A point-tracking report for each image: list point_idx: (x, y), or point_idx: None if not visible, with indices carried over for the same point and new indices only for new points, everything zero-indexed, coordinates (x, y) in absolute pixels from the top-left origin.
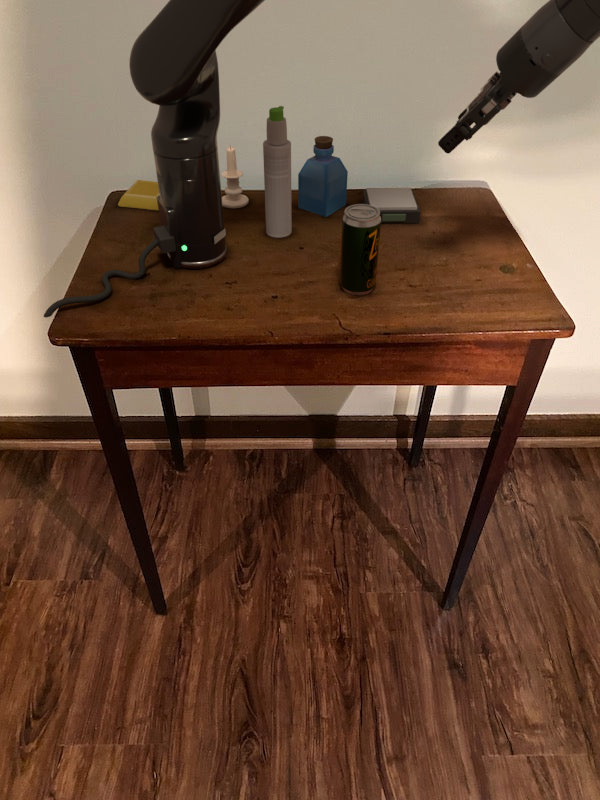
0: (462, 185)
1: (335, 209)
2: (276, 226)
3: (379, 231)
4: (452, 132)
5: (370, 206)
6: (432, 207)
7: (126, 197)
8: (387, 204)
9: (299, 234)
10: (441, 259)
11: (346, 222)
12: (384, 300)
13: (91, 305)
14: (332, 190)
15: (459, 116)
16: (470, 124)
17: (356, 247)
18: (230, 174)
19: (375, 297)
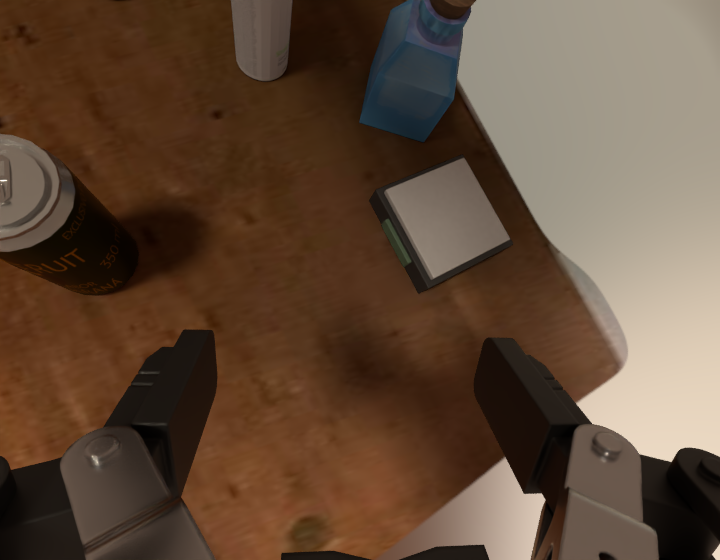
0: (610, 326)
1: (389, 129)
2: (235, 43)
3: (19, 260)
4: (132, 409)
5: (51, 197)
6: (495, 298)
7: None
8: (414, 217)
9: (270, 96)
10: (290, 385)
11: None
12: (64, 329)
13: None
14: (391, 97)
15: (490, 343)
16: (482, 403)
17: None
18: None
19: (70, 307)
